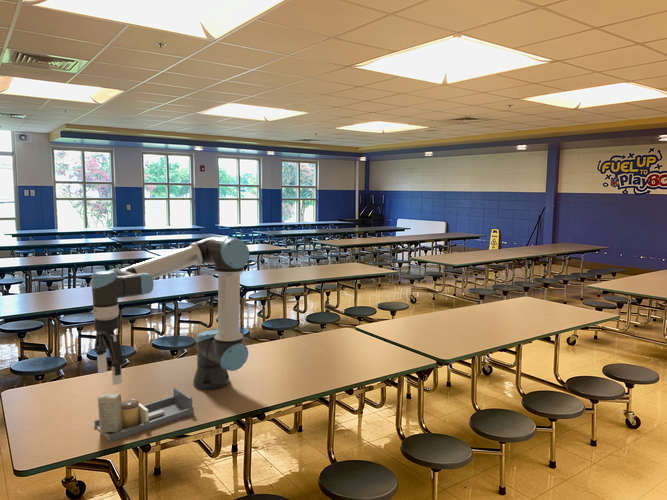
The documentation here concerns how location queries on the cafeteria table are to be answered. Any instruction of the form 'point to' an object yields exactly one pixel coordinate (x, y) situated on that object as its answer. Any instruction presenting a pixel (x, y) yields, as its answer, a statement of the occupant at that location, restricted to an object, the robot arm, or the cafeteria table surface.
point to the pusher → (147, 413)
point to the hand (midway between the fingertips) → (109, 378)
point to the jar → (130, 413)
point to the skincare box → (110, 412)
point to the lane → (172, 410)
